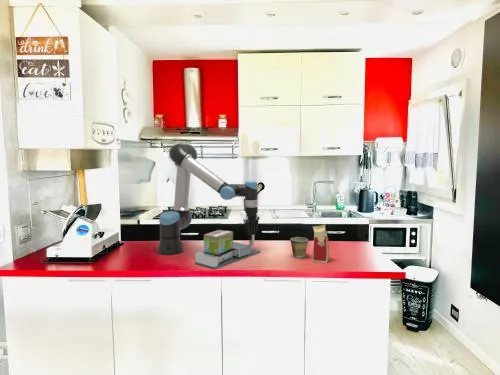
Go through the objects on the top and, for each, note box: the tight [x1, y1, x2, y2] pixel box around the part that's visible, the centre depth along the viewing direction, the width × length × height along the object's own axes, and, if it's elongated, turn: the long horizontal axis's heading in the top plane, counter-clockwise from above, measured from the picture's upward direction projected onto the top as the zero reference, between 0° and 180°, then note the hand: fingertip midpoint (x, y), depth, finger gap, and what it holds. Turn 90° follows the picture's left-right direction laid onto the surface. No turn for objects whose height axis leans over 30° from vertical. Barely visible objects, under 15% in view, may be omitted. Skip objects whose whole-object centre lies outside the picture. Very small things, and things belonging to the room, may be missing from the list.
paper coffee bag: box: [311, 224, 330, 264], centre depth 192 cm, size 9×9×20 cm
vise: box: [194, 248, 261, 270], centre depth 197 cm, size 15×38×6 cm, turn 141°
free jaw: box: [233, 241, 252, 257], centre depth 202 cm, size 14×10×4 cm
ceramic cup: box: [290, 236, 309, 259], centre depth 201 cm, size 13×10×10 cm
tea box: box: [203, 229, 234, 264], centre depth 191 cm, size 15×10×15 cm
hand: (251, 245), depth 213 cm, fingers closed
